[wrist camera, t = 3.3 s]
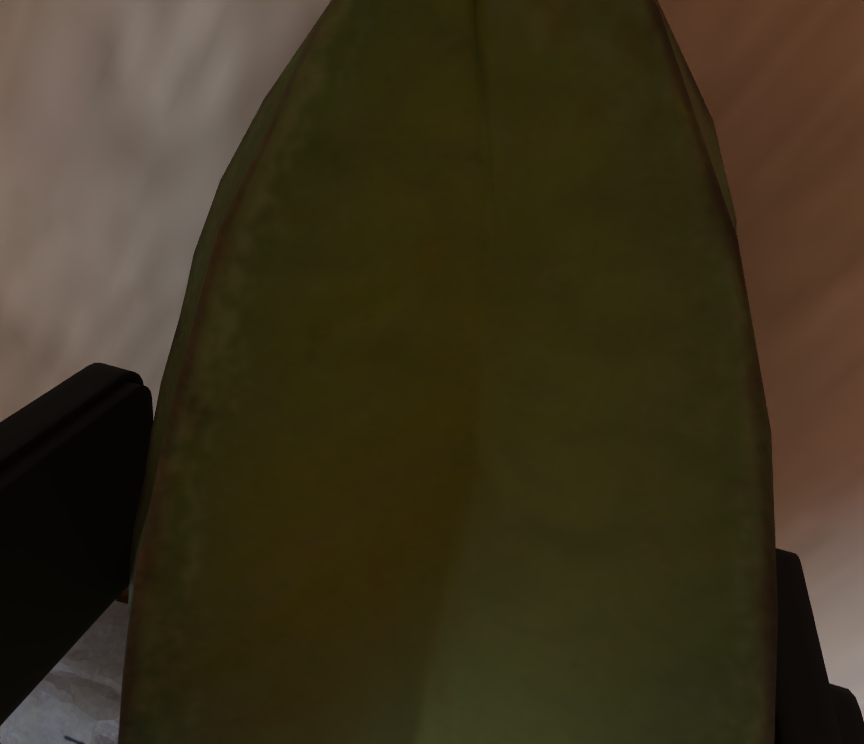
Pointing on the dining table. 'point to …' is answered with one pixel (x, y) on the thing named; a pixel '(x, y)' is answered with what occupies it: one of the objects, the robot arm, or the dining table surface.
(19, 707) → the fossil
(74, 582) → the robot arm
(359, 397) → the fruit
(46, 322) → the dining table surface
